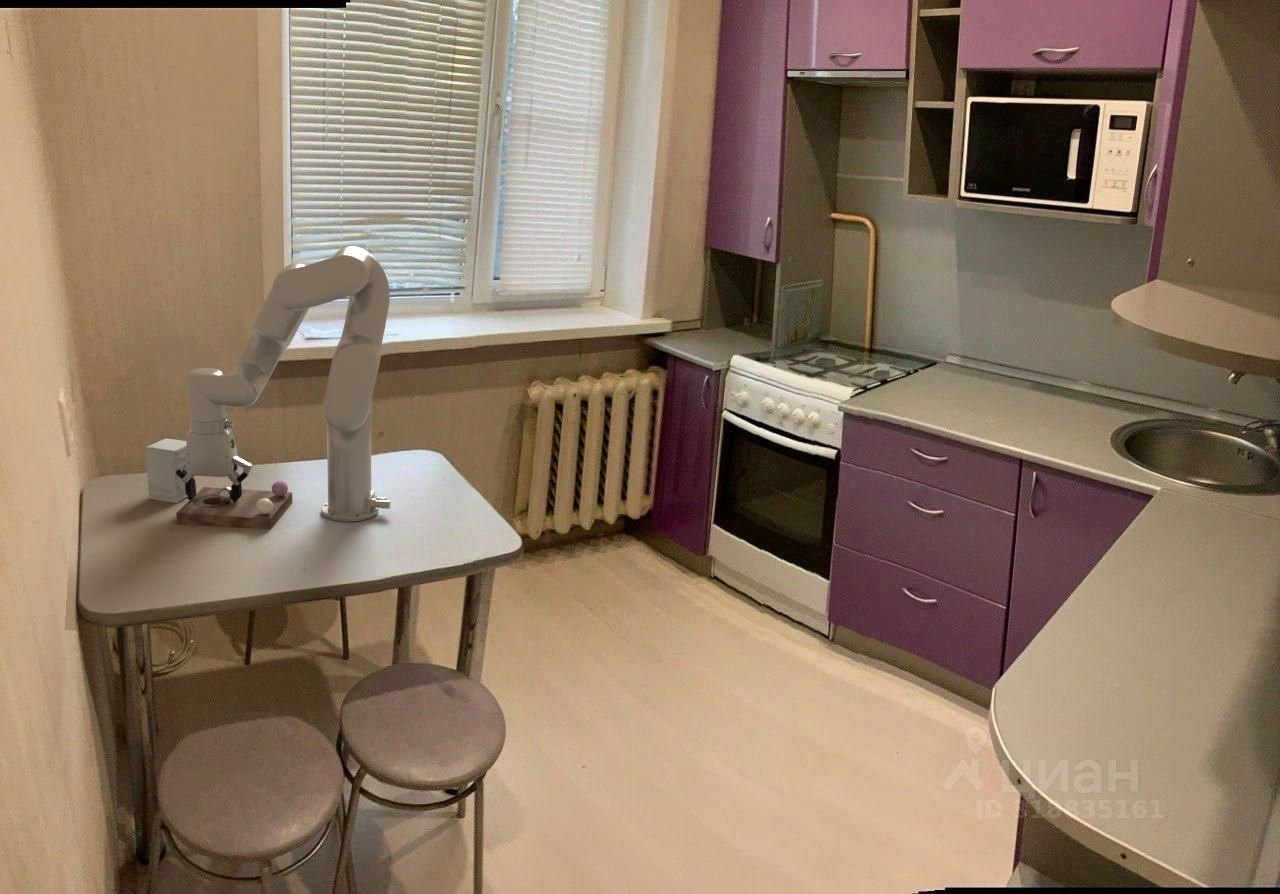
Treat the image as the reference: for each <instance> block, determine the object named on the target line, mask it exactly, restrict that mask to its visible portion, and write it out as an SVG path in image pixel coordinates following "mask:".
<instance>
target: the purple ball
mask: <svg viewBox="0 0 1280 894" xmlns="http://www.w3.org/2000/svg"><path fill="white" fill-rule="evenodd" d="M271 491H272V492H273V494H275V495H276V496H283V495H285V494H286V493H287V492H288V491H289V486H288V484H287V483H286V482H285V481H282V480H277V481H275V482H274V483H273V484H272V486H271Z"/></svg>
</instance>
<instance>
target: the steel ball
mask: <svg viewBox="0 0 1280 894" xmlns="http://www.w3.org/2000/svg"><path fill="white" fill-rule="evenodd" d="M220 488H221V489H220V490H219V492H218V497H219V499H220V500H221V501H223V502H230V501H232V489H231V487H230V486H222V487H220Z"/></svg>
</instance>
